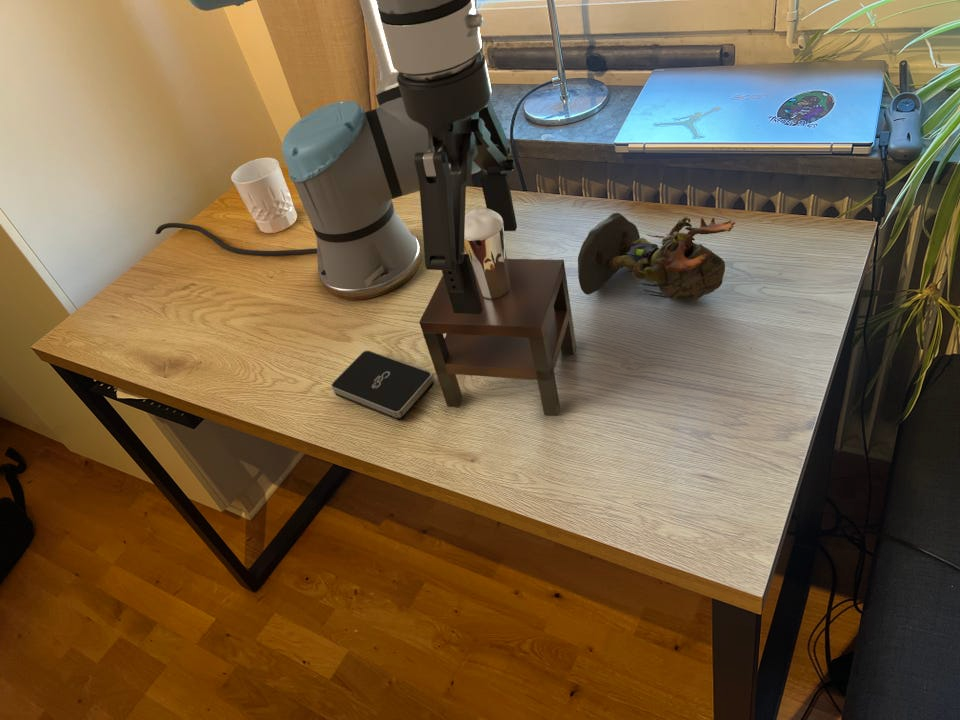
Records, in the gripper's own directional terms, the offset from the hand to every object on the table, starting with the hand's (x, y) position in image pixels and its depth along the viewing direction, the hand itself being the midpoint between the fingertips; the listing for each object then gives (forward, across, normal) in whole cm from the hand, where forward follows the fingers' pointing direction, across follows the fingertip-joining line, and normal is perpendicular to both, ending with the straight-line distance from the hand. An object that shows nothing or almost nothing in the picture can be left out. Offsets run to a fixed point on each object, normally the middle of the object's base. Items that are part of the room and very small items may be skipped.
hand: (487, 267), depth 73 cm
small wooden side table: (+16, 0, 0) cm, 16 cm away
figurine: (+16, +17, -14) cm, 27 cm away
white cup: (+16, +32, +50) cm, 61 cm away
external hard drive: (+16, -4, +15) cm, 22 cm away
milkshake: (+3, 0, 0) cm, 3 cm away
